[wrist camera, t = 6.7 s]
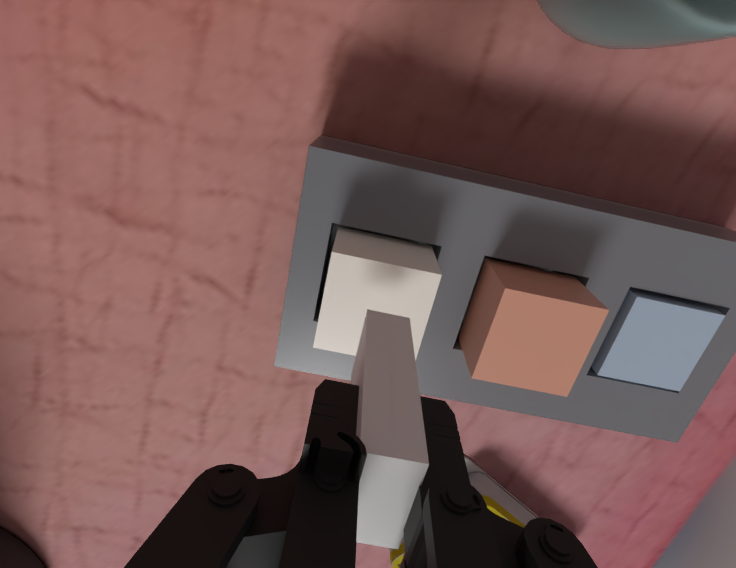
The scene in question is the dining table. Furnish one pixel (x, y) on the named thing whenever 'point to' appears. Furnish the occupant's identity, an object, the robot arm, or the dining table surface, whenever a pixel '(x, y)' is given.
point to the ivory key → (375, 287)
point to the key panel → (513, 245)
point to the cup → (643, 21)
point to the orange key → (529, 327)
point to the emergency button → (494, 499)
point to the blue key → (656, 339)
